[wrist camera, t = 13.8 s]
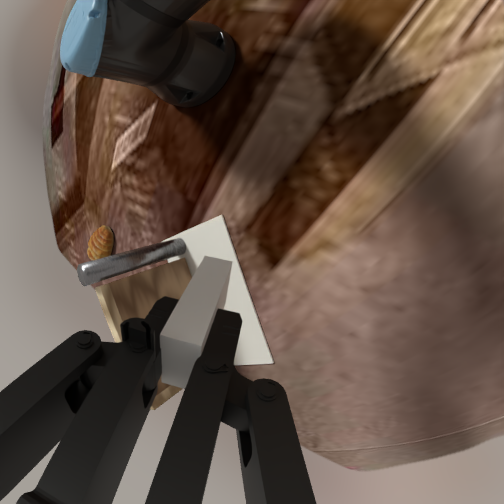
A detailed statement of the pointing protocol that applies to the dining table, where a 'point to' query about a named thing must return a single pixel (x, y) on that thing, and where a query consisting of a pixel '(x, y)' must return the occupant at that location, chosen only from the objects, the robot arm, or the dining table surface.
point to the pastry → (101, 243)
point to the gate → (143, 303)
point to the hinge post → (129, 261)
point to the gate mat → (238, 297)
